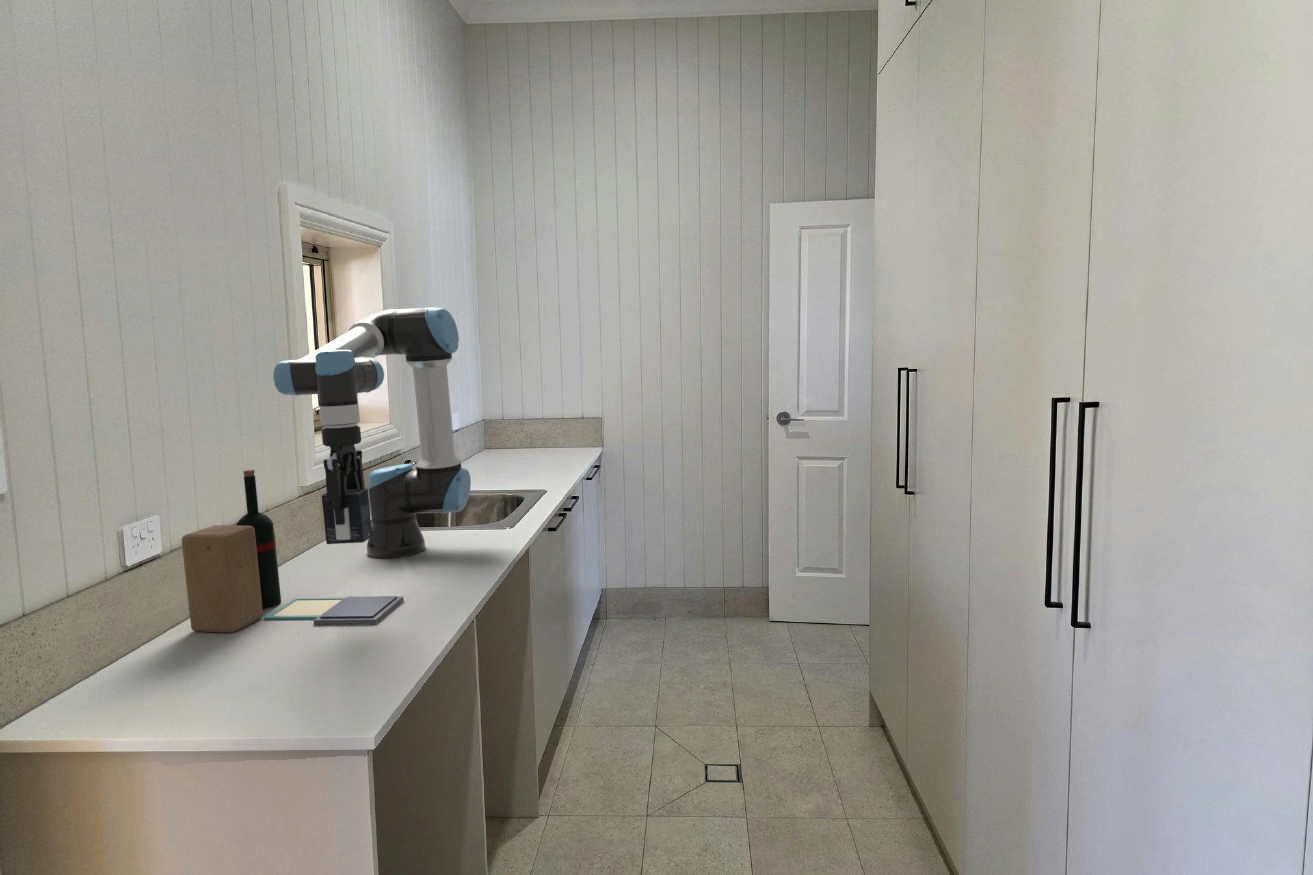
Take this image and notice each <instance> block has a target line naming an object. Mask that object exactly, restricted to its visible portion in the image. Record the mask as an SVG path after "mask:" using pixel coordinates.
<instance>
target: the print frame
mask: <svg viewBox="0 0 1313 875" xmlns="http://www.w3.org/2000/svg"><path fill="white" fill-rule="evenodd" d="M344 598H345V597H344V596H343V597H339V596H338V597H333V596H332V597H293V598H292V599H291V600H289V601H288V602H286V603H284V604H283V605H282V606H280V607H278V608H277V609H275V610H273V611H272V612H270V613H269V614H267V615H265V616H264V617H263V620H265V621H268V620H269V621H271V620H272V621H273V620H275V621H276V620H277V621H279V620H280V621H281V620H314V619H316V618H317V617H319V616H320V615H321V614H323V613H324V612H326V611H327V610H328V609H330V608H331V607H333V606H334V605H336V604H337V603H338V602H340V601H341V600H343V599H344Z"/></svg>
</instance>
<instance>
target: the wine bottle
mask: <svg viewBox="0 0 1313 875" xmlns="http://www.w3.org/2000/svg"><path fill="white" fill-rule="evenodd" d="M243 481H244V492H245V503H246V514H244V515H242V517H240V518H239V519H238V521H237V522H236V524H235V525H241V526H252V527H254V529H255V538H256V548H257V558H258V568H259V579H260V589H261V599H262V609H263V611H264V610H268V609H273V608H275V607H277V606H279V605H280V604H281V603H282V593H281V585H280V575H279V574H280V573H279V566H278V556H277V555H278V554H277V547H276V545H277V543H276V534H275V527H274V522H273V521H272V519H271V518H270V517H269V516H268V515H266V514H264V513H262V512H259V505H258V504H259V503H258V491H257V483H256V481H257V480H256V475H255V469H247V470H243Z"/></svg>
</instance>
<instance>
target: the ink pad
mask: <svg viewBox="0 0 1313 875" xmlns="http://www.w3.org/2000/svg"><path fill="white" fill-rule="evenodd" d="M401 603H404V596H403V595H402V596H398V595H395V596H394V595H385V596H384V595H383V596H382V595H380V596H378V595H377V596H373V595H372V596H370V595H369V596H346V597H345V598H344V599H343V600H341V601H340V602H338V603H337V604H336V605H334V606H333V607H331V608H330V609H328V610H327V611H326V612H324V613H323V614H321V615H320V616H319V617H317V618H316V619H313V626H324V625H325V626H327V625H328V626H335V625H336V626H337V625H340V626H342V625H345V626H346V625H377V624H378V623H379V622H380V621H382V620H383V619H384V618H385V617H386V616H387V615H389V614H390V613H391V612H392V611H394V610H395V609H396V608H397V607H398V606H399V605H400V604H401Z"/></svg>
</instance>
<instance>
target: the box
mask: <svg viewBox="0 0 1313 875" xmlns="http://www.w3.org/2000/svg"><path fill="white" fill-rule="evenodd" d="M321 506H322V514H323V515H322V516H323V523H324V524H323V525H324V533H325V542H326V545H336V544H337V545H338V544H356V543H357V544H361V543H364V542H366V541H368V539H369V538H371V537H372V529H371V527H372V520H371V509H370V498H369V490H368V488H365V489H347V488H346V508H348V511H349V523H350V534H351V539H349V540H337V539H336V528H335V517H334V509H329V508H328V504H327V492H325V493H323V494H321Z"/></svg>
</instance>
